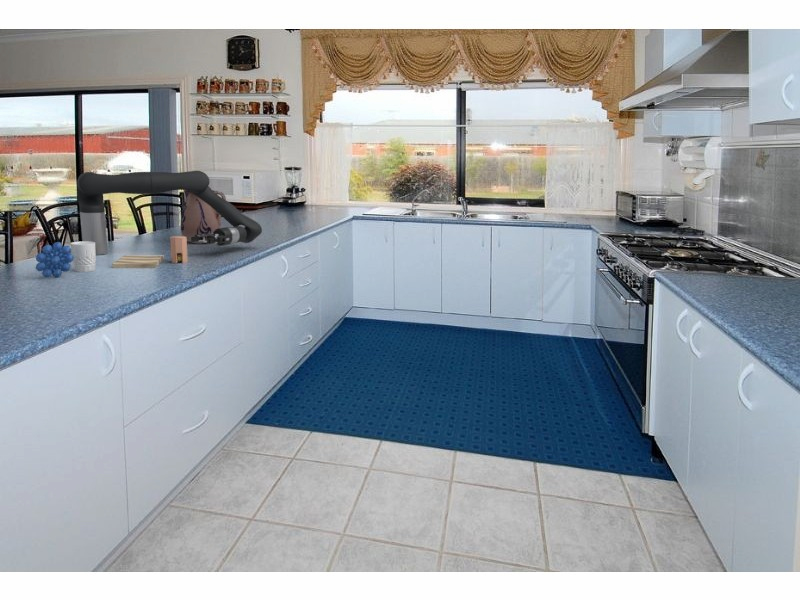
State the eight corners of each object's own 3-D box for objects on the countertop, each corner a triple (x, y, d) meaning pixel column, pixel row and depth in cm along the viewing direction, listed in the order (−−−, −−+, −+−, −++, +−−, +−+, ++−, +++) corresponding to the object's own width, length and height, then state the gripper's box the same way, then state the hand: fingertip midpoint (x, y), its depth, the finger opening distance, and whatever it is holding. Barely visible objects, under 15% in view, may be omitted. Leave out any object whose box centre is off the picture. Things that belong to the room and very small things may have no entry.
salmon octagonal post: (171, 260, 250) (170, 235, 248) (187, 260, 252) (186, 235, 250) (171, 263, 245) (170, 237, 242) (187, 263, 247) (186, 237, 244)
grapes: (73, 273, 219) (70, 239, 216) (76, 277, 213) (73, 242, 211) (35, 276, 212) (31, 241, 209) (37, 280, 207) (34, 244, 204)
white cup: (73, 268, 227) (71, 241, 225) (97, 268, 230) (95, 241, 228) (72, 272, 220) (70, 244, 218) (97, 271, 224) (95, 244, 221)
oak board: (124, 258, 251) (124, 255, 250) (163, 258, 254) (163, 255, 253) (112, 267, 232) (112, 263, 231) (155, 267, 235) (154, 263, 234)
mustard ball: (176, 261, 250) (175, 253, 249) (184, 261, 250) (184, 253, 250) (174, 262, 247) (174, 254, 246) (183, 262, 247) (182, 254, 246)
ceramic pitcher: (182, 240, 307) (180, 188, 301) (227, 239, 313) (225, 189, 307) (180, 245, 291) (177, 190, 285) (227, 245, 296) (225, 191, 291)
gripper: (213, 226, 273) (185, 230, 259) (239, 228, 267) (212, 232, 253) (214, 243, 275) (187, 248, 261) (239, 246, 269) (213, 251, 255)
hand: (199, 240), depth 257 cm, fingers open, 8 cm apart
